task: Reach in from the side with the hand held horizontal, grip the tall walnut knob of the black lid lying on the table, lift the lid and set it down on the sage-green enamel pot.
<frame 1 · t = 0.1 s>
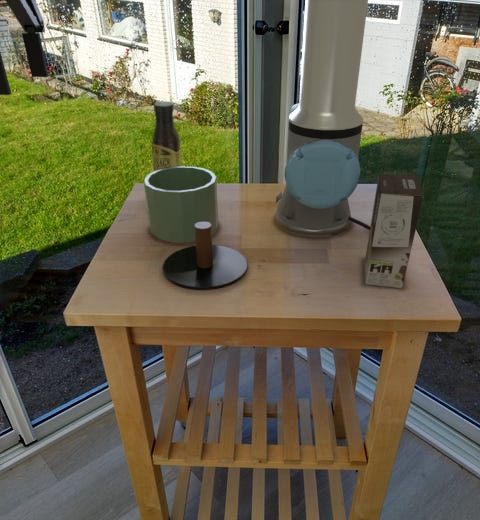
hand: (22, 85, 80), 28 cm above the table, tool pointing down, fingers open, 13 cm apart
lid: (205, 267, 87), point 1 cm above the table
sauce bottle: (170, 194, 116), on the table
pot: (184, 228, 101), on the table
coffee box: (383, 274, 86), on the table
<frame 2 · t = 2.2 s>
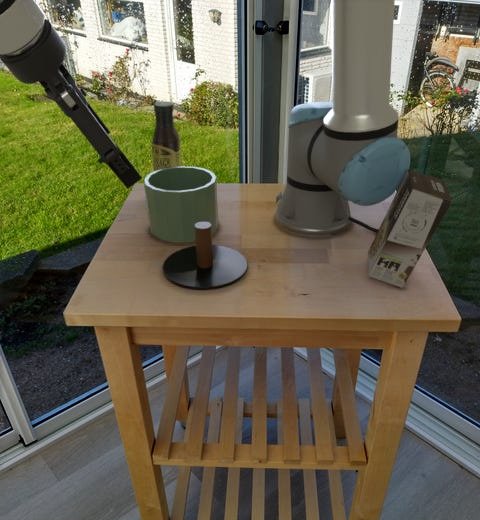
hand: (118, 158, 77), 19 cm above the table, tool tilted 35°, fingers open, 13 cm apart
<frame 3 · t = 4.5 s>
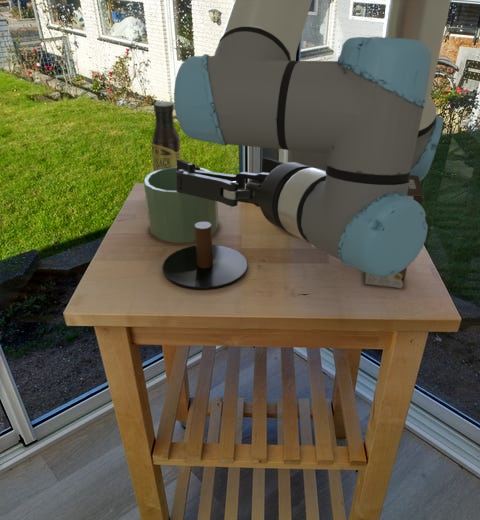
hand: (223, 168, 72), 20 cm above the table, tool horizontal, fingers open, 13 cm apart
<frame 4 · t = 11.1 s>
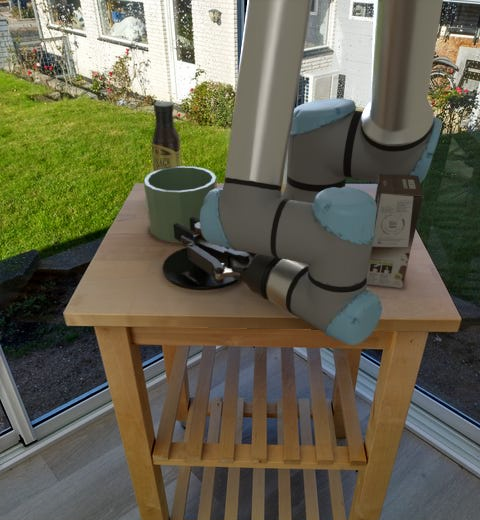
hand: (183, 227, 87), 6 cm above the table, tool horizontal, fingers closed on lid, 3 cm apart
lid: (205, 267, 87), point 1 cm above the table, touching gripper
everything else where it was.
when the fingers open (16 cm above the table, at t = 19.1 s): lid stays where it is, resting on pot.
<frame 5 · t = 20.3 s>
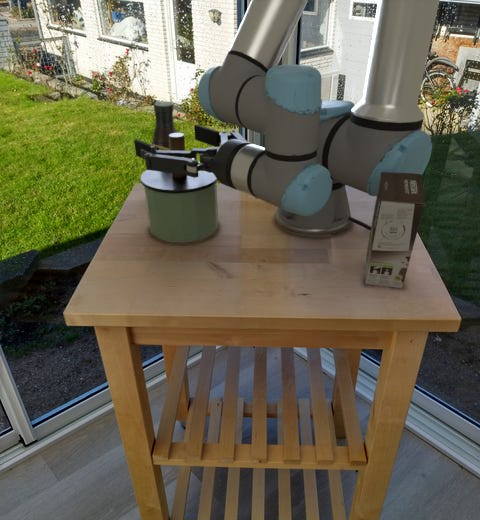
hand: (167, 139, 92), 17 cm above the table, tool horizontal, fingers open, 13 cm apart
lid: (179, 178, 94), point 10 cm above the table, touching pot
coffee box: (383, 270, 86), point 1 cm above the table, touching arm
everything else where it was.
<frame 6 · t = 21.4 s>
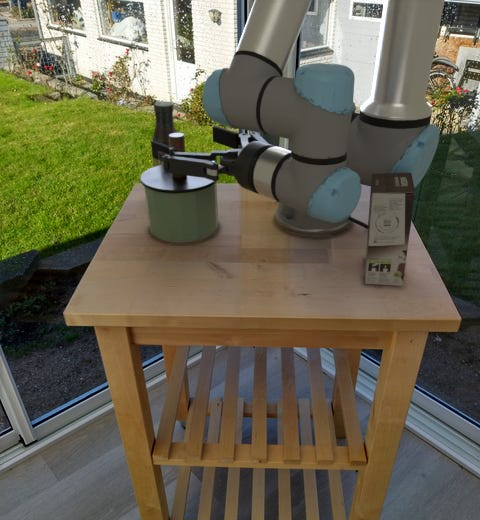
hand: (184, 141, 89), 18 cm above the table, tool horizontal, fingers open, 13 cm apart
coffee box: (383, 273, 86), on the table
everything else where it was.
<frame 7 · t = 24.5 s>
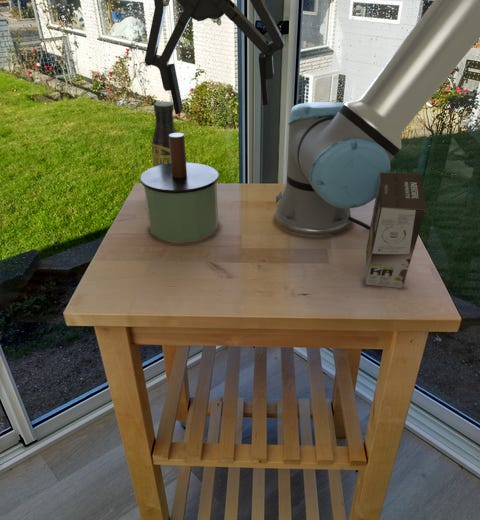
hand: (221, 106, 77), 26 cm above the table, tool pointing down, fingers open, 13 cm apart
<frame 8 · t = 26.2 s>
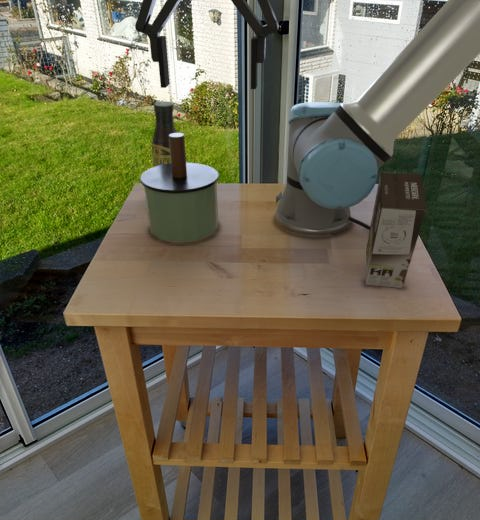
hand: (209, 86, 75), 29 cm above the table, tool pointing down, fingers open, 13 cm apart
coffee box: (383, 268, 85), point 1 cm above the table, touching arm
everything else where it was.
at the end: lid 0.1 cm off-centre on the pot, point 10.5 cm above the pot's base; lid tilted 0°; the gripper is holding nothing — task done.
